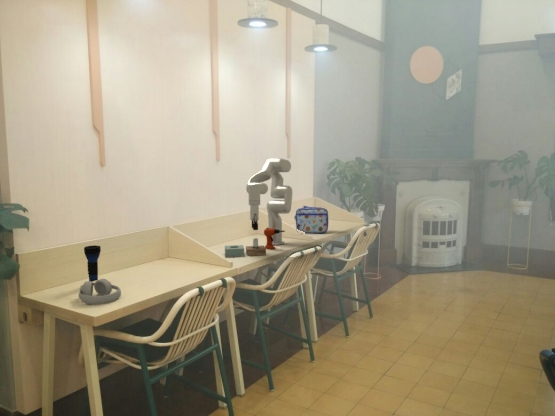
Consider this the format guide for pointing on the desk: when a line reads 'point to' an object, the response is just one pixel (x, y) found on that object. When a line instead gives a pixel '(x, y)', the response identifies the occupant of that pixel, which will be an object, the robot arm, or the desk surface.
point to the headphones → (101, 288)
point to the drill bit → (255, 242)
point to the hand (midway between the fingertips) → (254, 228)
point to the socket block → (255, 251)
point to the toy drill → (270, 237)
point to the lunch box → (312, 219)
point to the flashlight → (92, 261)
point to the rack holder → (234, 251)
